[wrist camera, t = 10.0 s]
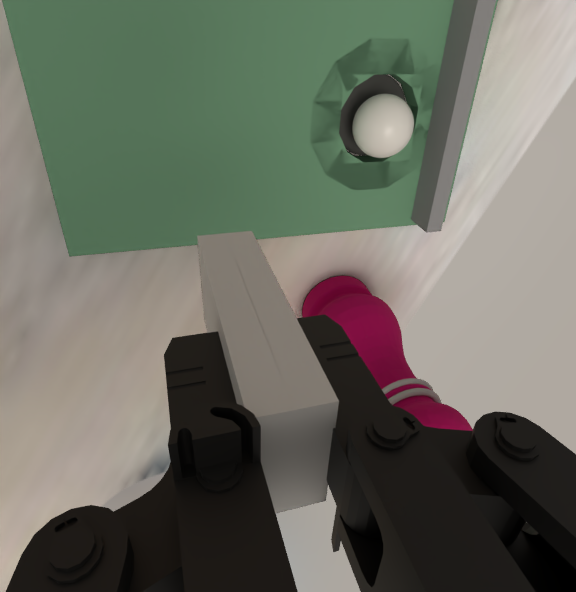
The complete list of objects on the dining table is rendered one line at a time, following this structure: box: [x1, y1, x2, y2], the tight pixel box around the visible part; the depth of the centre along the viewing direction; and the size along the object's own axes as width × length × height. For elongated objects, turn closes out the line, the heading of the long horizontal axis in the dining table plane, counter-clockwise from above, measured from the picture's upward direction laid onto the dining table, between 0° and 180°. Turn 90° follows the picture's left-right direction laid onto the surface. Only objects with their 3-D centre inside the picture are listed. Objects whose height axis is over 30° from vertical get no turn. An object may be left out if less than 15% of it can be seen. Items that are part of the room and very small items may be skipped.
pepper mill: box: [302, 276, 473, 431], centre depth 32 cm, size 7×7×20 cm
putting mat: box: [2, 0, 498, 256], centre depth 28 cm, size 28×16×4 cm, turn 88°
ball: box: [352, 94, 414, 158], centre depth 30 cm, size 4×4×4 cm
